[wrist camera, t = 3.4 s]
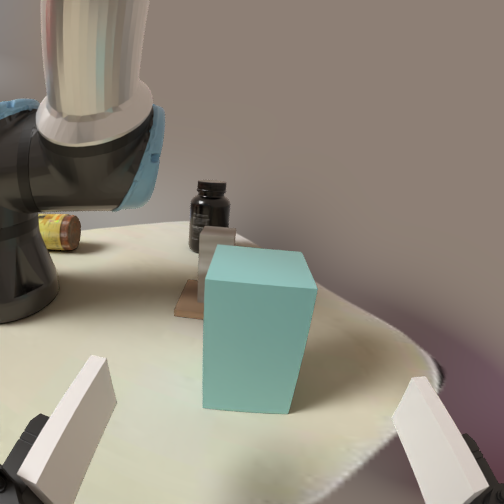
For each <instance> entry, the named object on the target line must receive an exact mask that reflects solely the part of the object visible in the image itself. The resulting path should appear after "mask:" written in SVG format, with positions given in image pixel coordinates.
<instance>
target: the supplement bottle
mask: <svg viewBox="0 0 504 504" xmlns="http://www.w3.org/2000/svg"><path fill="white" fill-rule="evenodd" d="M197 191H198V195H197V196H195V197H193V199H192V200H191V207H190V227H189V247H190V249H191V250H192V251H194V252H197V253H199V240H200V233H201V231H202V230H203V228H204V227H205V226H213V227H225V228H229V216H230V201H229V200H228V199H227V198H226V197H225V196H224V193H226V182H224V181H217V180H199V181H198V188H197Z"/></svg>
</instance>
